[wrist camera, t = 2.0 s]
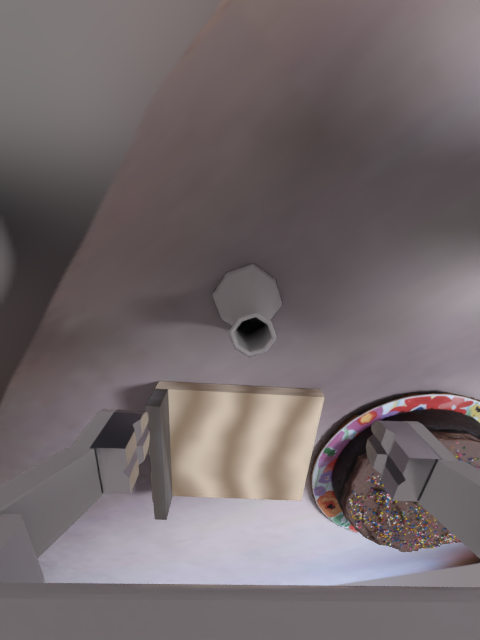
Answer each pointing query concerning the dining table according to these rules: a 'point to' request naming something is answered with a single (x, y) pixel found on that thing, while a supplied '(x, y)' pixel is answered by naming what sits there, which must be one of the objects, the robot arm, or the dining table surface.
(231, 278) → the flask
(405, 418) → the chocolate cake
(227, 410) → the shelf board
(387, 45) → the dining table surface
